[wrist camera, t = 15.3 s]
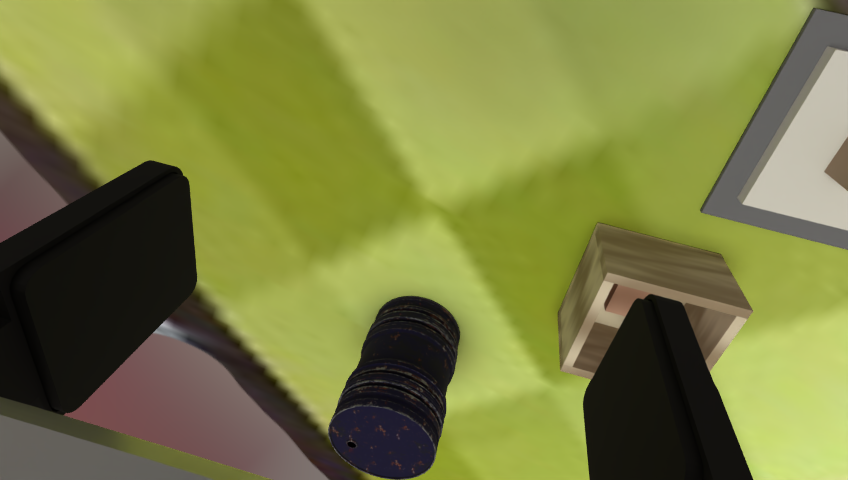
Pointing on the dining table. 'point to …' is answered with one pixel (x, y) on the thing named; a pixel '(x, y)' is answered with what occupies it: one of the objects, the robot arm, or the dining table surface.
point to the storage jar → (398, 391)
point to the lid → (809, 151)
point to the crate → (636, 278)
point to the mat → (763, 126)
